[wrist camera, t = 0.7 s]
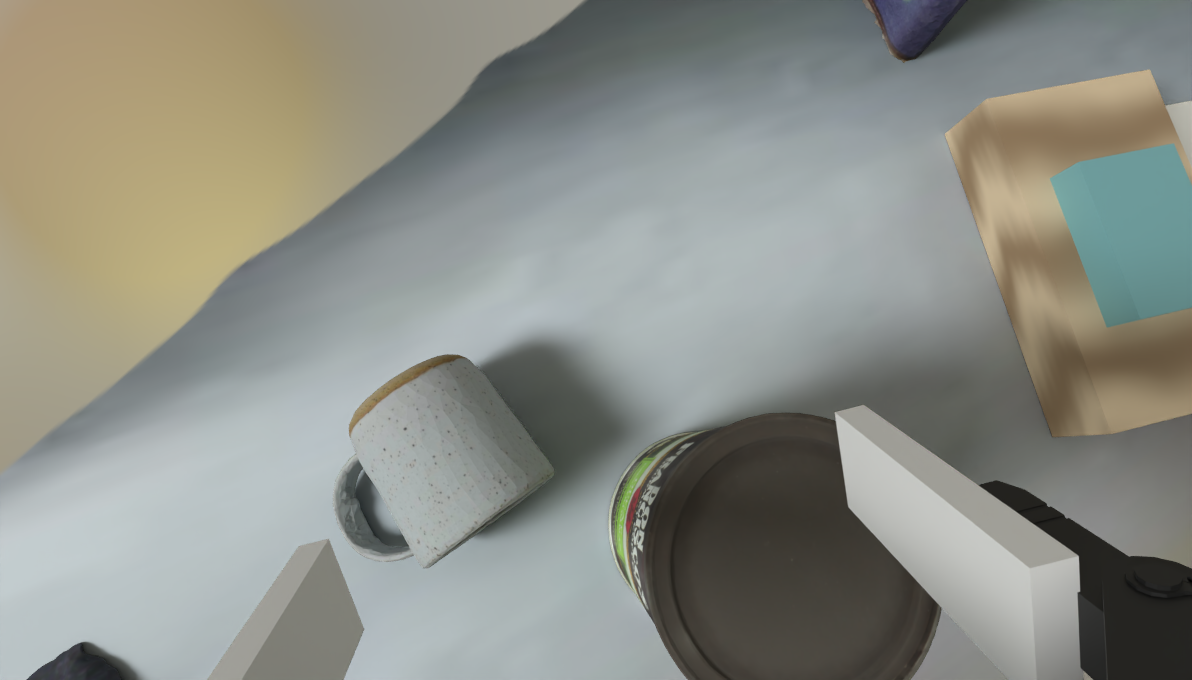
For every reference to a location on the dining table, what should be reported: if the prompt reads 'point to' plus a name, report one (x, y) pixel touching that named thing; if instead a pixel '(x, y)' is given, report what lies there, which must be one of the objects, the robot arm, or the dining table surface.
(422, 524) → the ceramic mug
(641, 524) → the coffee can
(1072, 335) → the tan flat rectangular slab
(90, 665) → the dark slate chunk
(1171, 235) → the teal rectangular block
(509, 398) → the dining table surface
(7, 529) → the dining table surface
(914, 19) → the flask
